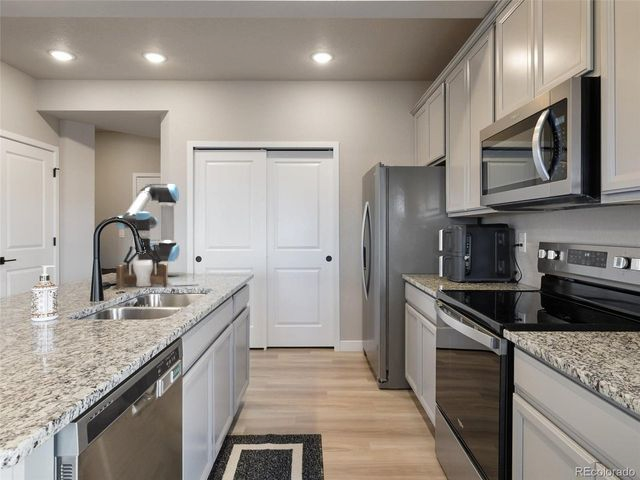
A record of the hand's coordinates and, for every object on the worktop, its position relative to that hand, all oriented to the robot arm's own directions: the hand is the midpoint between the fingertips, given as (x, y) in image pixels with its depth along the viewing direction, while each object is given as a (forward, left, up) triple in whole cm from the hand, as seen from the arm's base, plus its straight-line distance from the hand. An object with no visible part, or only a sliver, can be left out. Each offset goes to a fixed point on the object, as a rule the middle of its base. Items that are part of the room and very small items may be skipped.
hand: (143, 274), depth 219 cm
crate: (0, 0, -7) cm, 7 cm away
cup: (0, 0, -7) cm, 7 cm away
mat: (+1, +23, -7) cm, 24 cm away
